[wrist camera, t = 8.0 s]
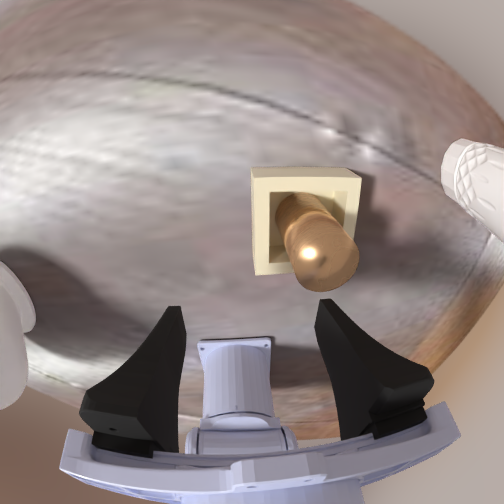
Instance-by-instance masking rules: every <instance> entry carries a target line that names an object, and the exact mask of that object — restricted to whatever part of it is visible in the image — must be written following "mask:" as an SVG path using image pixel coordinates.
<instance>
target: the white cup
mask: <svg viewBox="0 0 504 504" xmlns="http://www.w3.org/2000/svg"><path fill="white" fill-rule="evenodd" d="M441 183H442V186H443V189H444V191H445V194H446V195H447V196H448V197H449V198H451V199H452V200H453V201H454V202H456V203H457V204H458V205H460V206H461V207H462V208H463V209H464V210H465V211H466V212H467V213H468V214H470V215H471V216H472V217H473V218H474V219H476V220H477V221H478V222H480V223H481V224H482V225H483V226H484V227H485V228H486V229H488V230H489V231H490V232H491V233H492V234H494V235H495V236H496V237H497V238H498V239H499V240H500V241H502V242H503V243H504V148H500V147H497V146H494V145H490V144H487V143H479V142H474V141H471V140H467V139H463V138H461V139H459V140H457V141H455V142H453V143H452V144H451V145H450V147H449V148H448V150H447V151H446V152H445V154H444V158H443V162H442V165H441Z"/></svg>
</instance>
